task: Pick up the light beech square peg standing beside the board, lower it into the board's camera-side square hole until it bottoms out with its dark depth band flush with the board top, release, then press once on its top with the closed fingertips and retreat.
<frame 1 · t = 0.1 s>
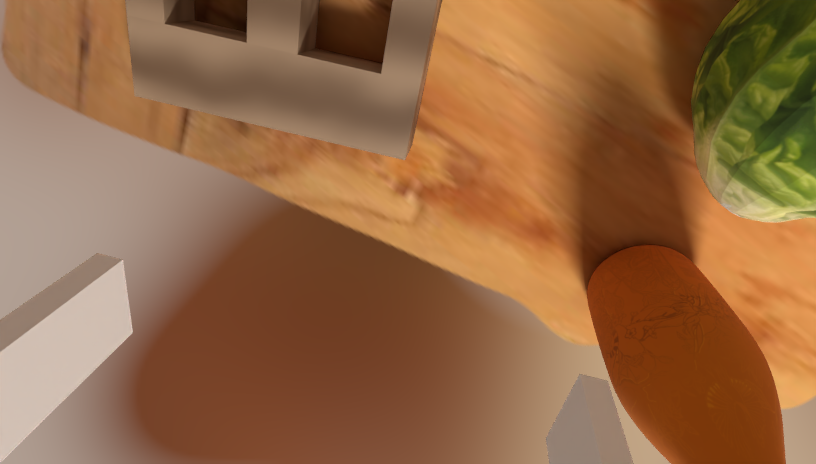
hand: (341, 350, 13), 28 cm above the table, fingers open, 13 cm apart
lettuce: (796, 49, 32), on the table
board: (295, 0, 35), on the table
wine bottle: (638, 283, 42), on the table
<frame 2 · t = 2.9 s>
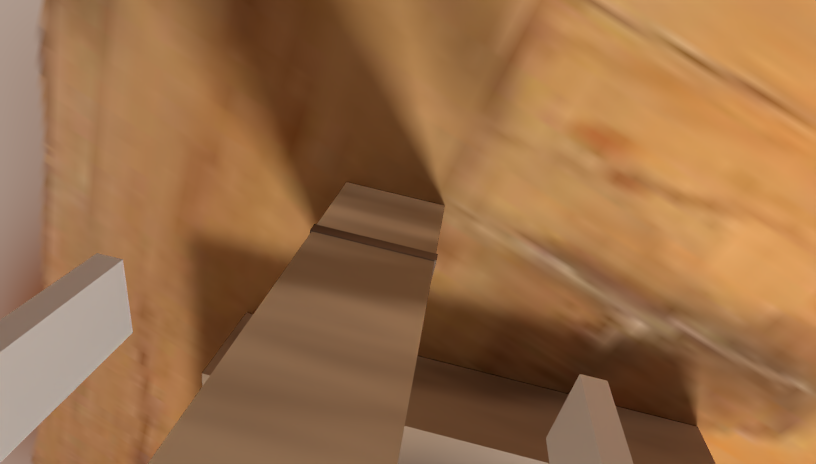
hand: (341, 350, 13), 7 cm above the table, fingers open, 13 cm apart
peg: (387, 236, 19), on the table
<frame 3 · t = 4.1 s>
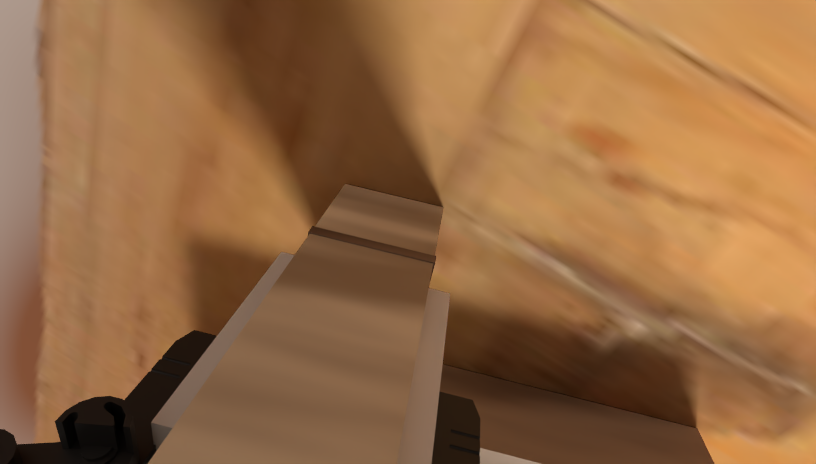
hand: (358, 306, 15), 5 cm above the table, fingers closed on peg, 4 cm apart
peg: (385, 238, 19), on the table, touching gripper
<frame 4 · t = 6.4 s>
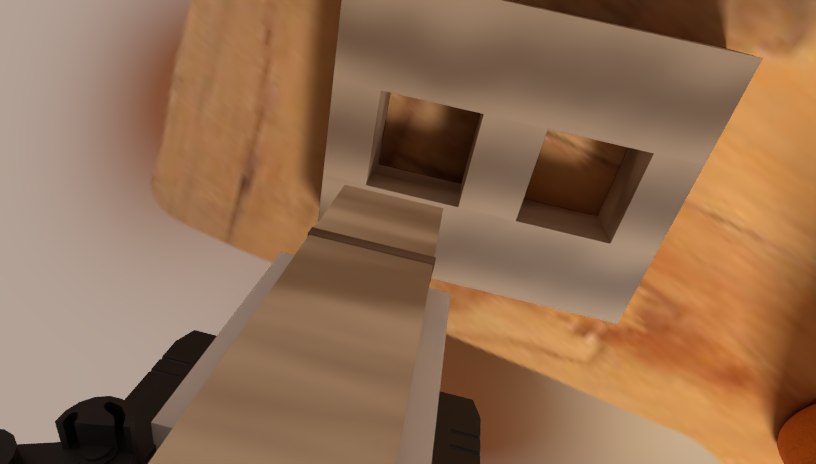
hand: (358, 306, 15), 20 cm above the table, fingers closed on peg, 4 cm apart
board: (499, 149, 32), on the table
peg: (385, 239, 19), point 15 cm above the table, touching gripper
when the fingers open (6 cm above the table, at t = 8.9 s): peg stays where it is, resting in board.
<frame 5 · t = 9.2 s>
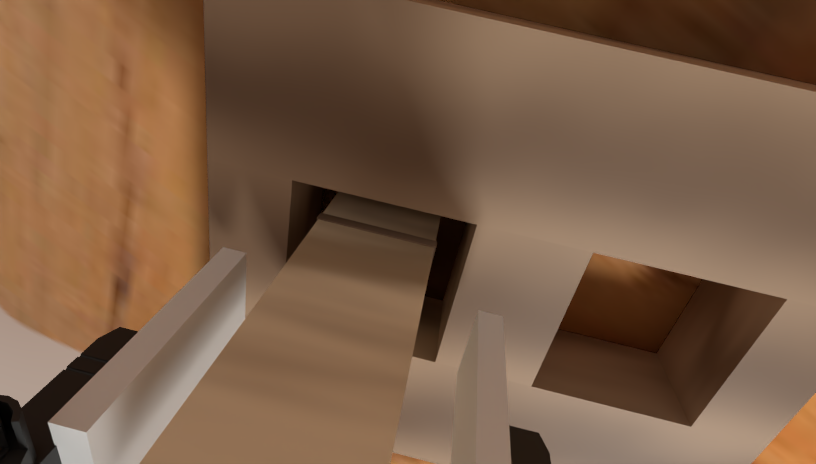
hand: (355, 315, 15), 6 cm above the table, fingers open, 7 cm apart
board: (502, 255, 20), on the table
peg: (389, 227, 20), resting in board
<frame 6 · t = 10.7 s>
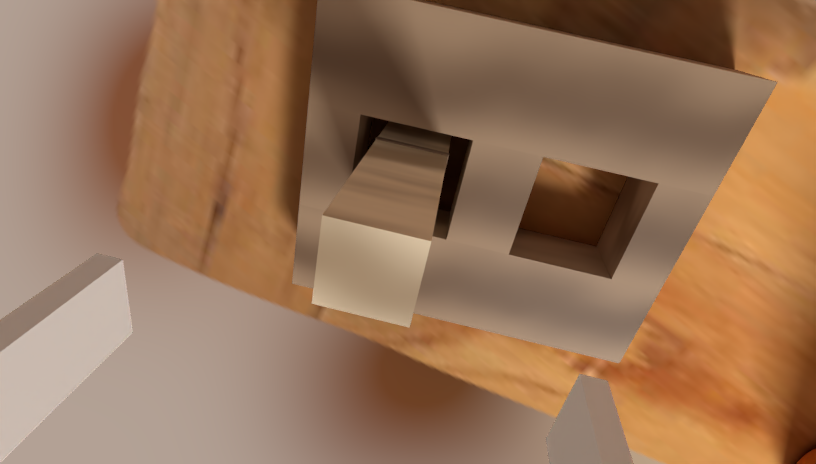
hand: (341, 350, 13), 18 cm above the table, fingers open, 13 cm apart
board: (490, 176, 29), on the table
peg: (414, 158, 30), resting in board
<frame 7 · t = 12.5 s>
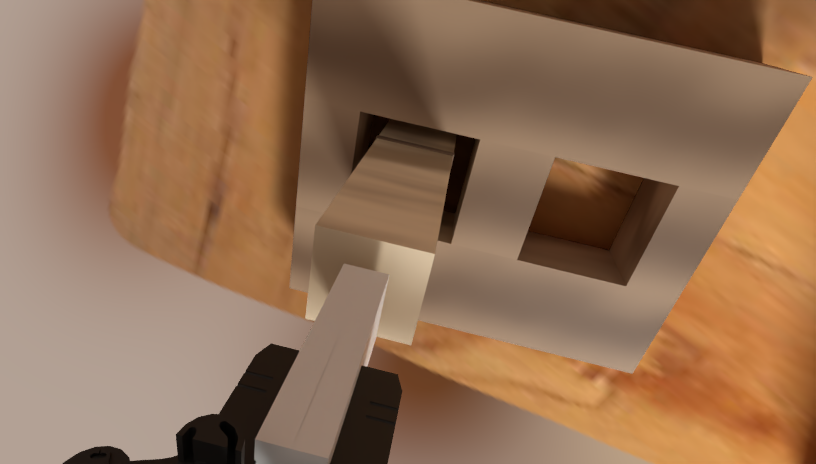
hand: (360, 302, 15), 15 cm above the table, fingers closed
board: (497, 176, 28), on the table
peg: (417, 156, 28), resting in board
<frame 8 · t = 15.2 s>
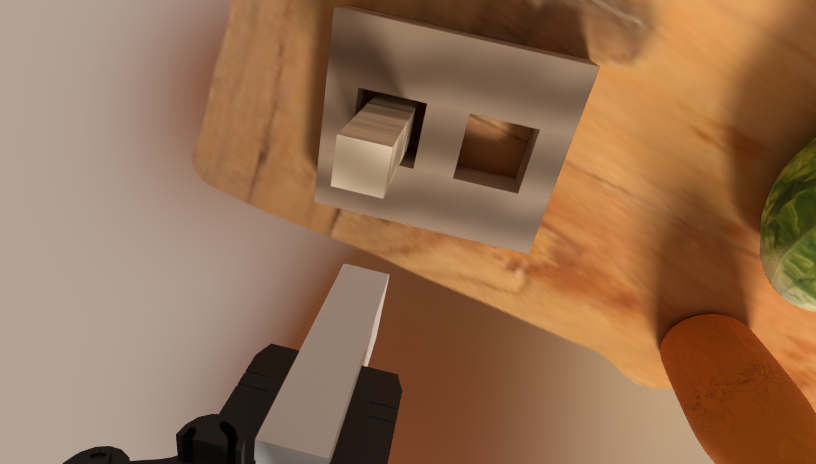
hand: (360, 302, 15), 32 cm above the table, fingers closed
board: (443, 130, 45), on the table
wine bottle: (701, 341, 52), on the table
peg: (394, 118, 45), resting in board
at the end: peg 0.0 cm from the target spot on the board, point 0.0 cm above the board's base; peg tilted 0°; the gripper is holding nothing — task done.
